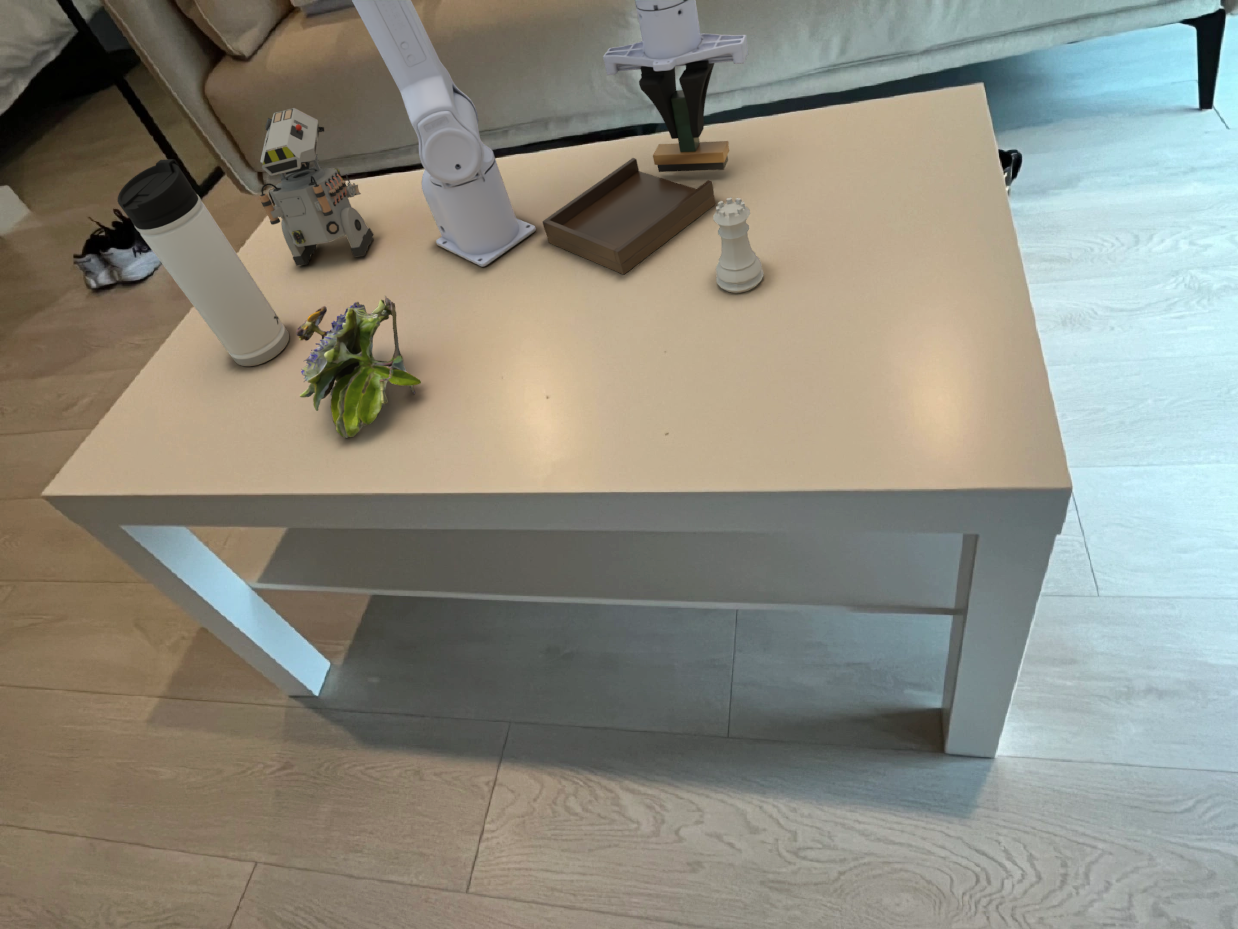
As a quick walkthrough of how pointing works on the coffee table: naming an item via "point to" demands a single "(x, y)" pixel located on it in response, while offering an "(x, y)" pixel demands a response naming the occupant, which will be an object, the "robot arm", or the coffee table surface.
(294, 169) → the figurine
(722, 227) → the rook chess piece
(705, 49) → the robot arm
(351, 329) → the passion flower
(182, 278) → the travel mug
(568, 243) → the tray
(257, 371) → the coffee table surface
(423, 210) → the coffee table surface
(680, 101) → the brush
